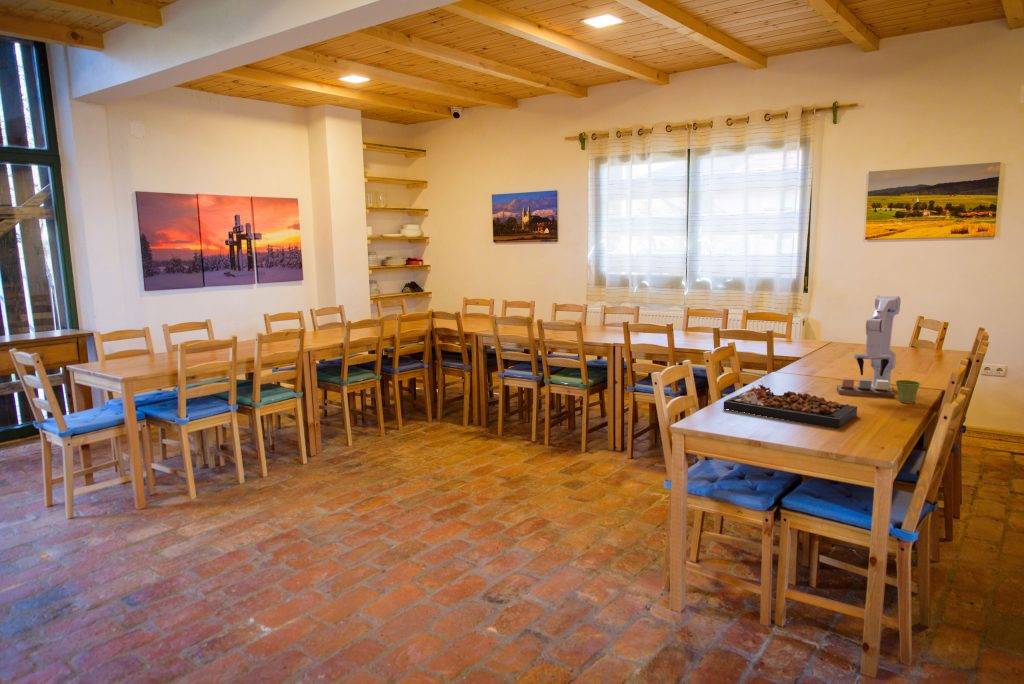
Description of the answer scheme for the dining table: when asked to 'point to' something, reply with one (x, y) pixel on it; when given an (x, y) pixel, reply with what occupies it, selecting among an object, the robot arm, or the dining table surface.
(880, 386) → the ivory key
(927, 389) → the dining table surface
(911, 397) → the plant pot
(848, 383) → the brick key
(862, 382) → the slate key
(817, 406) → the food platter
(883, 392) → the brown flat board
